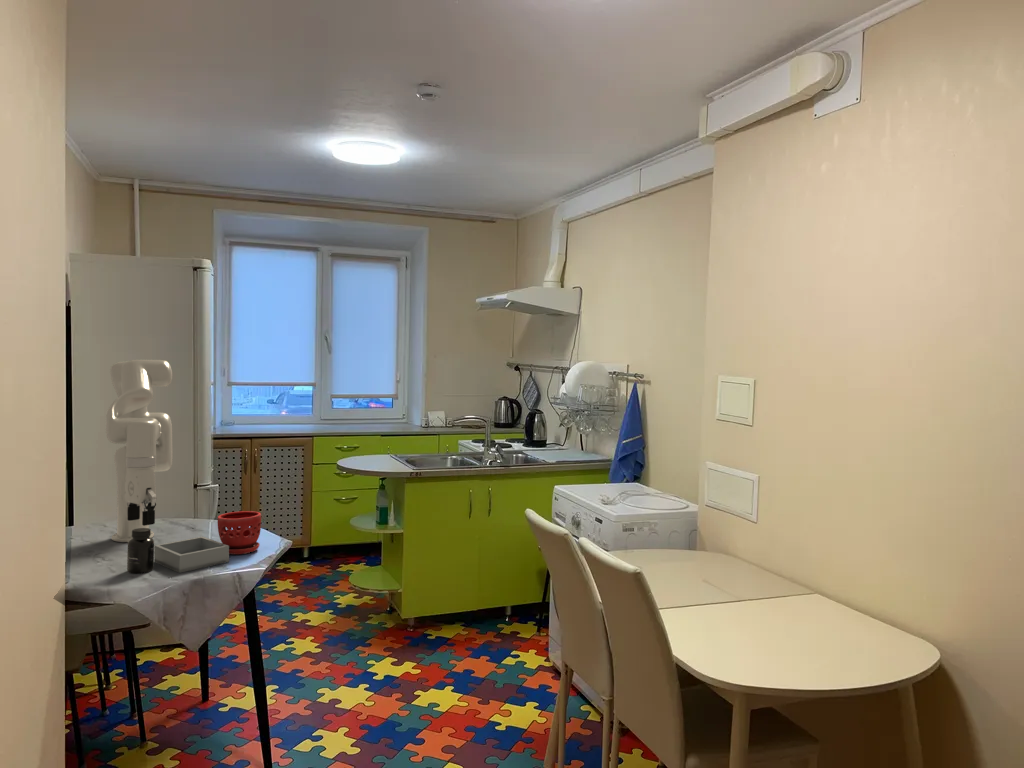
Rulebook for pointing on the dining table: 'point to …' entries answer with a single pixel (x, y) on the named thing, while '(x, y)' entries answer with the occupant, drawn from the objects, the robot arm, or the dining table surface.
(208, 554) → the tray
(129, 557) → the supplement bottle
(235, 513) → the plant pot
